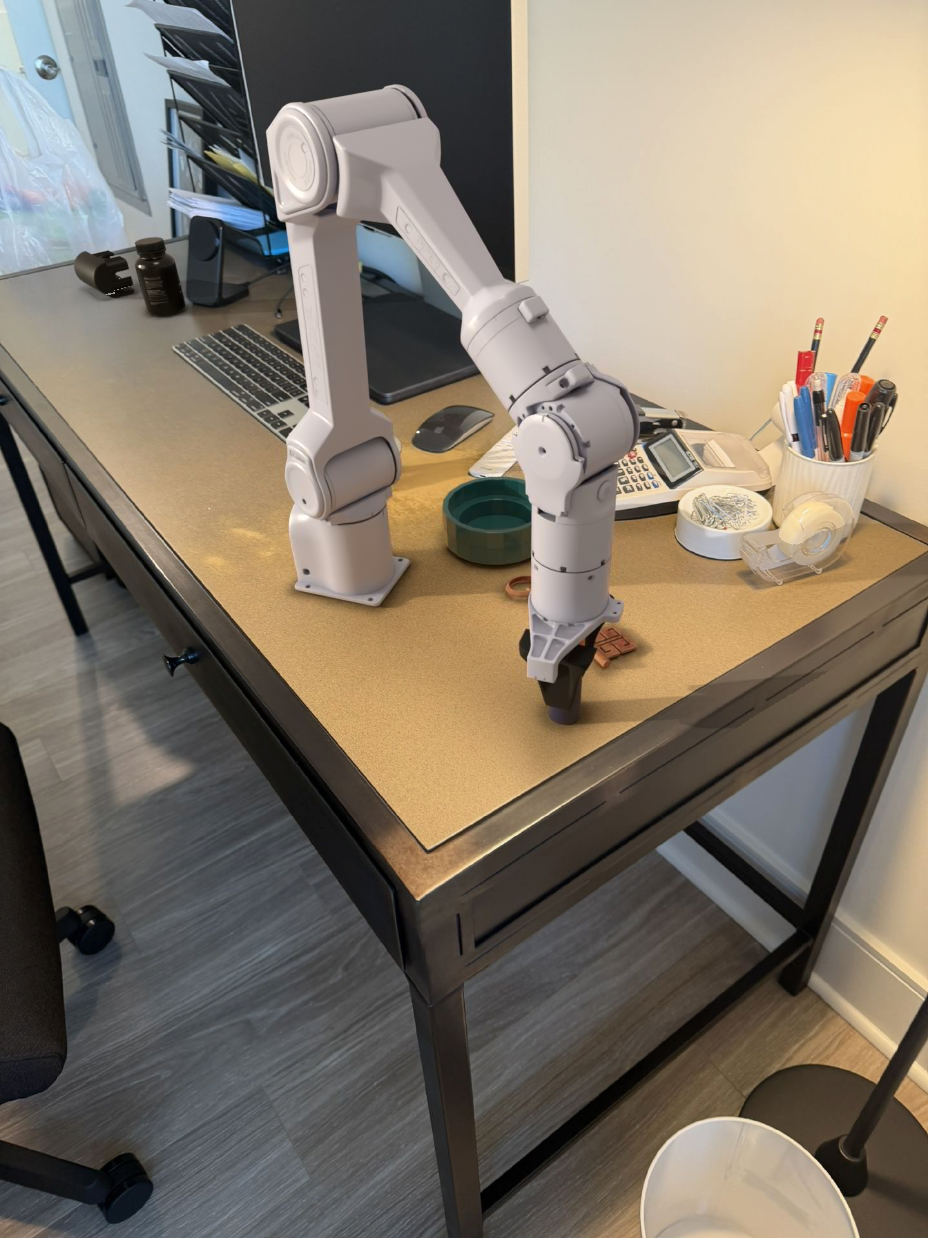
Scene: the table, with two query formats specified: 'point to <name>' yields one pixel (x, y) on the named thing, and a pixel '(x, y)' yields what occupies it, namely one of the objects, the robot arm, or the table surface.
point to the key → (606, 633)
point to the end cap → (103, 273)
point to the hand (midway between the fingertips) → (565, 688)
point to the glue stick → (572, 714)
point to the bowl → (489, 520)
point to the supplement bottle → (158, 278)
